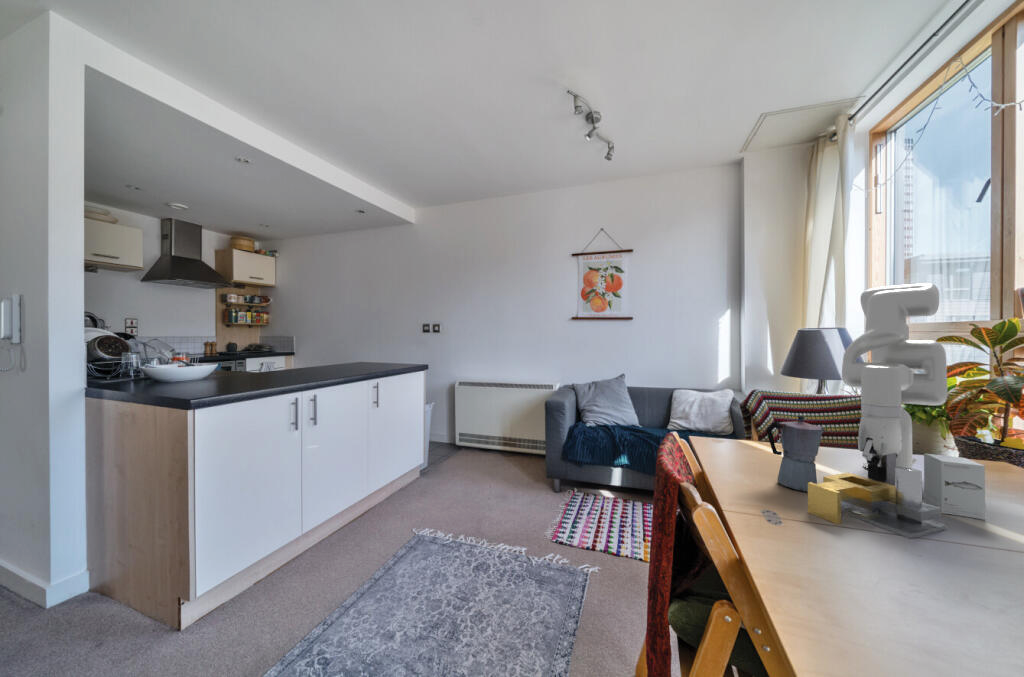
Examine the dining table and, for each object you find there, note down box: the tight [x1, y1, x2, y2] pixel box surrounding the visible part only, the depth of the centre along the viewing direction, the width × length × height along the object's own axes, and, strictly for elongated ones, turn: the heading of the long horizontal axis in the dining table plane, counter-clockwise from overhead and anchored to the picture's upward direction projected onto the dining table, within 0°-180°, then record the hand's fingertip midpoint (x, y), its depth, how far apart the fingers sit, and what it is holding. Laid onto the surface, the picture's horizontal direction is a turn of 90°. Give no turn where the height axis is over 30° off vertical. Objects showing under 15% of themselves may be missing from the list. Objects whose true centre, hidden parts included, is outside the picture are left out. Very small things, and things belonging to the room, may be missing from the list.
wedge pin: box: [872, 451, 896, 486], centre depth 96 cm, size 4×4×11 cm
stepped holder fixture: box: [807, 467, 947, 539], centre depth 83 cm, size 21×16×12 cm
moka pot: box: [766, 415, 826, 493], centre depth 101 cm, size 10×15×20 cm, turn 89°
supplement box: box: [923, 453, 986, 521], centre depth 87 cm, size 7×7×13 cm
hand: (882, 478), depth 96 cm, fingers closed on wedge pin, 4 cm apart
